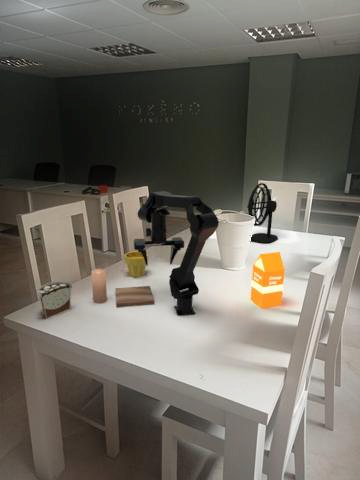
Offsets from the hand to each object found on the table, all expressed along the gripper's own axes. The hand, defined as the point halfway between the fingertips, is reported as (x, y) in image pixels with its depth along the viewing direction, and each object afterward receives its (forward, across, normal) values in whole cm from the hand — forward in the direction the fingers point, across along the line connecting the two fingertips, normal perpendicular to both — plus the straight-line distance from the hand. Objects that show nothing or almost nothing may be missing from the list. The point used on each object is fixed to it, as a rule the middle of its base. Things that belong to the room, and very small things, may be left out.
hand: (158, 264), depth 133 cm
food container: (+13, +39, +7) cm, 41 cm away
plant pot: (+13, +7, -24) cm, 28 cm away
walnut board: (+13, +10, 0) cm, 16 cm away
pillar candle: (+13, +23, 0) cm, 26 cm away
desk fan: (+13, -75, -73) cm, 106 cm away
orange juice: (+13, -40, +12) cm, 43 cm away
